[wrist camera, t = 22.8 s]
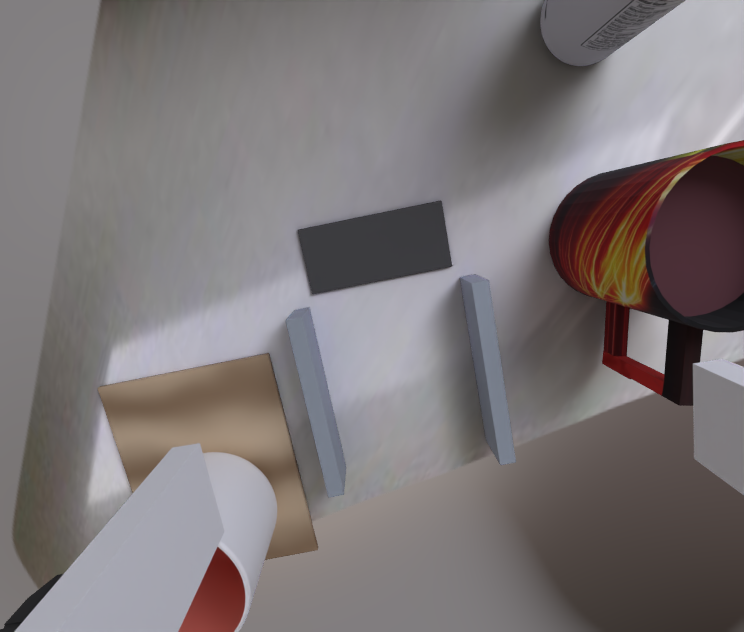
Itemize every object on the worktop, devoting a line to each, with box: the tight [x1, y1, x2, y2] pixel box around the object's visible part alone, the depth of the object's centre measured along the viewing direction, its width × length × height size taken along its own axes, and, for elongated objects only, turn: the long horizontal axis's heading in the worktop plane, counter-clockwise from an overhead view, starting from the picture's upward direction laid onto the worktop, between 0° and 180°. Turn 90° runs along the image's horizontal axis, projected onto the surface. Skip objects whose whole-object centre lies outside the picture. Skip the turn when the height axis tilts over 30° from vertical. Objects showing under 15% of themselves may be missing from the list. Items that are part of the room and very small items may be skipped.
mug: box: [549, 140, 744, 406], centre depth 29 cm, size 10×14×12 cm
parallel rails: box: [286, 274, 516, 497], centre depth 34 cm, size 14×14×4 cm
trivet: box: [98, 353, 318, 560], centre depth 37 cm, size 18×14×1 cm
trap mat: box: [298, 201, 452, 294], centre depth 34 cm, size 5×11×1 cm, turn 101°
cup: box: [178, 452, 277, 632], centre depth 33 cm, size 10×10×10 cm
